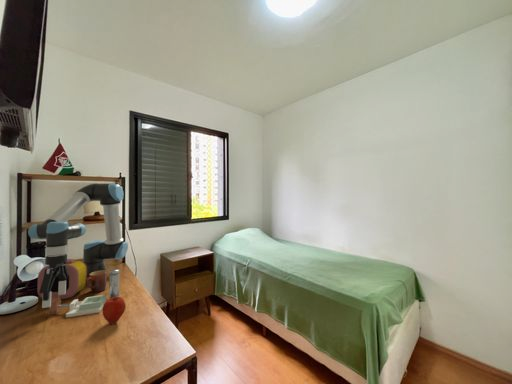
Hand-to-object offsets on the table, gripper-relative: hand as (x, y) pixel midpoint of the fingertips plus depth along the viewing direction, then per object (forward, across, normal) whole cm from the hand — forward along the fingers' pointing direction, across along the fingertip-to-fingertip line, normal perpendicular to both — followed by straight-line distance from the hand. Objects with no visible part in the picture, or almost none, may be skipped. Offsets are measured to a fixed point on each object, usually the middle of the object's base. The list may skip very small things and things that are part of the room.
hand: (54, 300), depth 100 cm
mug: (+6, -21, +10) cm, 24 cm away
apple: (+7, +18, +28) cm, 34 cm away
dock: (+6, 0, +13) cm, 14 cm away
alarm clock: (+6, -21, -5) cm, 23 cm away
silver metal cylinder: (+6, -8, +22) cm, 24 cm away
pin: (+6, 0, +7) cm, 9 cm away
